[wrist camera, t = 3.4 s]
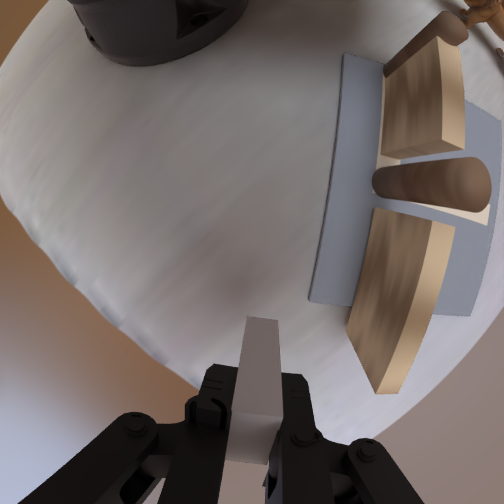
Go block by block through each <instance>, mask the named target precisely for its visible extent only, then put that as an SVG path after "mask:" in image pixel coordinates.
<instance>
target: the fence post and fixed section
mask: <svg viewBox="0 0 504 504" xmlns="http://www.w3.org/2000/svg"><path fill="white" fill-rule="evenodd" d="M468 36H469V35H468V31H467V29H466V27H465V25H464V24H463V23H462V21H461V20H460V19H459V18H458V17H456V16H455V15H454V14H452V13H450V12H448V11H442V12H441V13H440V14H439V15H438V16H436V17H435V18H434V19H433V20H432V21H431V22H430V23H429V24H428V25H427V26H426V27H425V28H423V29H422V30H421V31H420V32H419V33H418V34H417V35H416V36H415V37H414V38H413V39H412V40H411V41H410V42H409V43H408V44H407V45H406V46H405V47H404V48H402V49H401V50H400V51H399V52H398V53H397V54H396V55H395V56H394V57H393V58H392V59H391V60H390V61H389V62H388V63H387V64H386V65H385V66H384V68H383V74H384V76H385V78H386V79H385V98H384V117H383V130H382V142H381V152H380V155H383V156H387V157H390V158H394V159H397V160H400V159H406V158H412V157H418V156H424V155H431V154H437V153H444V152H452V151H459V150H465V100H464V85H463V75H462V66H461V59H460V52H459V47H457V46H458V45H459V44H461V43H462V42H464V41H465V40H467V39H468ZM372 186H373V189H374V191H375V192H376V194H377V195H378V196H380V197H382V198H385V199H393V200H400V201H408V202H414V203H421V204H428V205H434V206H440V207H446V208H451V209H457V210H462V211H468V212H473V213H478V212H481V211H483V210H484V209H485V208H486V206H487V205H488V203H489V201H490V197H491V192H492V184H491V178H490V174H489V171H488V169H487V167H486V166H485V164H484V163H483V162H482V161H481V160H480V159H478V158H476V157H463V158H452V159H442V160H433V161H424V162H416V163H408V164H401V165H394V166H387V167H381V168H379V169H378V170H376V171H375V173H374V174H373V177H372Z"/></svg>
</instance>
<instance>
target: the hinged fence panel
mask: <svg viewBox="0 0 504 504" xmlns="http://www.w3.org/2000/svg"><path fill="white" fill-rule="evenodd" d="M455 228H456V227H454V226H451V225H447V224H443V223H440V222H436V221H432V220H428V219H424V218H420V217H416V216H412V215H408V214H404V213H400V212H395V211H391V210H386V209H382V208H377V207H375V208H374V214H373V220H372V225H371V230H370V235H369V240H368V245H367V250H366V254H365V259H364V263H363V268H362V272H361V276H360V280H359V284H358V288H357V292H356V296H355V299H354V303H353V307H352V310H351V314H350V317H349V321H348V324H347V327H346V333H347V335H348V337H349V339H350V341H351V343H352V345H353V347H354V350H355V352H356V354H357V356H358V358H359V360H360V362H361V364H362V366H363V369H364V371H365V373H366V375H367V377H368V379H369V381H370V384H371V386H372V388H373V390H374V392H375V394H398V392H399V390H400V388H401V386H402V384H403V382H404V380H405V378H406V376H407V374H408V372H409V370H410V368H411V366H412V363H413V361H414V359H415V357H416V354H417V352H418V350H419V347H420V345H421V343H422V340H423V338H424V335H425V333H426V330H427V327H428V325H429V322H430V319H431V316H432V314H433V311H434V308H435V305H436V302H437V299H438V295H439V292H440V289H441V286H442V282H443V279H444V275H445V271H446V268H447V264H448V260H449V256H450V251H451V247H452V242H453V238H454V233H455Z"/></svg>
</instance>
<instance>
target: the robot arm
mask: <svg viewBox="0 0 504 504" xmlns="http://www.w3.org/2000/svg"><path fill="white" fill-rule="evenodd" d="M67 1H69V2H70V3H71V4H72V5H73V7H74V9H75V11H76V13H77V16H78V18H79V20H80V21H81V23H82V25H83V26H84V27H85V32H86V35H87V37H88V39H89V41H90V43H91V44H92V45H93V46H94V47H95V48H96V49H97V50H98V51H99V52H101V53H102V54H104V55H105V56H106V57H108V58H109V59H111V60H113V61H115V62H117V63H120V64H124V65H131V66H146V65H154V64H159V63H164V62H168V61H171V60H174V59H177V58H180V57H183V56H185V55H188V54H190V53H192V52H194V51H197V50H198V49H200V48H202V47H204V46H206V45H208V44H209V43H211V42H212V41H214V40H215V39H217V38H218V37H220V36H221V35H222V34H224V33H225V32H226V31H227V30H228V29H229V28H230V27H231V26H232V25H233V24H234V23H235V22H236V21H237V20H238V19H239V18H240V16H241V15H242V13H243V12H244V10H245V8H246V6H247V4H248V1H249V0H67ZM310 399H311V398H310V393H309V386H308V382H307V381H306V380H305V378H304V377H303V376H302V374H292V373H282V372H281V362H280V346H279V330H278V320H272V319H265V318H258V317H251V316H247V321H246V326H245V332H244V338H243V344H242V350H241V356H240V362H239V368H238V367H231V366H225V365H220V364H213V365H212V366H211V367H209V368H208V369H207V370H206V373H205V376H204V380H203V382H202V385H201V388H200V391H199V394H198V395H197V396H194V397H192V398H190V399H189V400H188V401H187V402H186V404H185V420H184V421H182V422H179V423H173V424H156V422H155V420H154V419H153V418H151V417H150V416H148V415H146V414H143V413H140V412H129V413H124V414H123V415H121V416H119V417H118V418H117V419H116V420H115V421H113V422H112V423H111V424H110V425H109V426H108V427H107V428H106V429H105V430H104V431H102V432H101V433H100V434H99V435H98V436H97V437H96V438H95V439H93V440H92V441H91V442H90V443H89V444H88V445H87V446H86V447H84V448H83V449H82V450H81V451H80V452H79V453H78V454H76V455H75V456H74V457H73V458H72V459H71V460H70V461H68V462H67V463H66V464H65V465H64V466H63V467H61V468H60V469H59V470H58V471H57V472H56V473H54V474H53V475H52V476H51V477H50V478H48V479H47V480H46V481H45V482H44V483H42V484H41V485H40V486H39V487H37V488H36V489H35V490H34V491H33V492H31V493H30V494H29V495H28V496H26V497H25V498H24V499H23V500H22V501H20V502H19V503H18V504H142V503H143V502H144V501H145V500H146V498H147V497H148V495H150V493H151V492H152V491H153V489H154V488H155V487H156V485H157V484H158V483H159V482H160V480H161V479H162V478H166V479H165V482H164V485H163V488H162V491H161V494H160V497H159V500H158V503H157V504H218V498H219V492H220V486H221V480H222V473H223V467H224V462H225V460H231V461H237V462H245V463H254V464H264V465H267V463H268V460H269V470H268V472H267V475H266V477H265V480H264V482H263V485H262V486H264V487H265V486H266V491H265V504H424V503H423V501H422V500H421V498H420V497H419V496H418V494H417V493H416V491H415V490H414V488H413V487H412V486H411V484H410V483H409V481H408V480H407V479H406V477H405V476H404V474H403V473H402V472H401V470H400V469H399V467H398V466H397V464H396V463H395V462H394V460H393V459H392V458H391V456H390V454H389V453H388V452H387V451H386V449H385V448H384V447H383V445H382V444H380V443H379V442H377V441H375V440H373V439H368V438H361V439H357V440H355V441H353V442H352V443H351V444H350V445H349V446H348V445H344V444H339V443H335V442H332V441H329V440H327V439H325V438H324V437H323V435H322V433H321V432H320V431H319V430H318V429H317V428H316V426H315V421H314V415H313V409H312V403H311V400H310Z"/></svg>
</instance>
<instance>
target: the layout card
mask: <svg viewBox="0 0 504 504" xmlns="http://www.w3.org/2000/svg"><path fill="white" fill-rule="evenodd" d="M384 66H385V64H382V63H379V62H375V61H372V60H369V59H366V58H362V57H359V56H355V55H352V54H348V53H344V55H343V64H342V79H341V92H340V103H339V114H338V123H337V132H336V141H335V149H334V157H333V165H332V172H331V179H330V186H329V192H328V199H327V205H326V211H325V217H324V223H323V229H322V234H321V240H320V245H319V250H318V255H317V261H316V266H315V270H314V275H313V280H312V285H311V289H310V294H309V302H315V303H323V304H331V305H340V306H349V307H353V303H354V299H355V296H356V292H357V288H358V284H359V280H360V276H361V272H362V268H363V263H364V259H365V254H366V250H367V245H368V240H369V235H370V230H371V225H372V220H373V214H374V208H375V207H377V208H382V209H386V210H391V211H395V212H400V213H404V214H408V215H412V216H416V217H420V218H424V219H428V220H432V221H436V222H440V223H443V224H447V225H451V226H454V227H456V228H455V233H454V238H453V242H452V247H451V251H450V256H449V260H448V264H447V268H446V271H445V275H444V279H443V282H442V286H441V289H440V292H439V295H438V299H437V302H436V305H435V308H434V311H433V314H437V315H453V316H471V313H472V310H473V307H474V304H475V301H476V298H477V295H478V292H479V289H480V286H481V282H482V279H483V275H484V271H485V268H486V264H487V260H488V255H489V251H490V247H491V242H492V237H493V231H494V226H495V220H496V213H497V206H498V198H499V188H500V175H501V150H502V139H501V121H500V120H498V119H497V118H495V117H494V116H492V115H490V114H489V113H487V112H486V111H484V110H482V109H481V108H479V107H477V106H476V105H474V104H472V103H470V102H468V101H467V100H465V99H464V100H465V150H459V151H452V152H444V153H437V154H431V155H424V156H418V157H412V158H406V159H400V160H397V159H394V158H390V157H387V156H383V155H380V152H381V142H382V130H383V117H384V98H385V79H386V78H385V76H384V74H383V68H384ZM463 157H476V158H478V159H480V160H481V161H482V162H483V163H484V164H485V166H486V167H487V169H488V171H489V174H490V178H491V184H492V192H491V197H490V201H489V203H488V205H487V206H486V208H485V209H484V210H483V211H481V212H478V213H473V212H468V211H462V210H457V209H451V208H446V207H440V206H434V205H428V204H421V203H414V202H408V201H400V200H393V199H385V198H382V197H380V196H378V195H377V194H376V192H375V191H374V189H373V186H372V177H373V174H374V173H375V171H376V170H378V169H379V168H381V167H387V166H394V165H401V164H408V163H416V162H424V161H433V160H442V159H452V158H463Z"/></svg>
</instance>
